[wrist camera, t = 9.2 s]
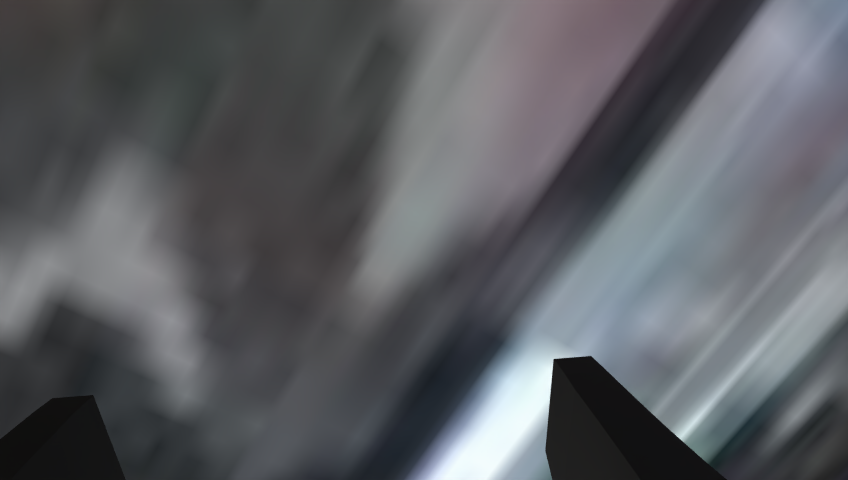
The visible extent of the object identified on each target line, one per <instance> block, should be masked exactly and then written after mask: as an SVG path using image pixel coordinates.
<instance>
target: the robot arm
mask: <svg viewBox="0 0 848 480" xmlns="http://www.w3.org/2000/svg"><path fill="white" fill-rule="evenodd" d="M545 451H546V455H547V459H548V463H549V468H550V472H551V476H552V480H727V479H725V478H724V477H723V476H722V475H720V474H719V473H718V472H717V471H716V470H715V469H713V468H712V467H711V466H710V465H709V464H707V463H706V462H705V461H704V460H703V459H702V458H701V457H699V456H698V455H697V454H696V453H695V452H694V451H693V450H692V449H690V448H689V447H688V446H687V445H686V444H685V443H684V442H683V441H681V440H680V439H679V438H678V437H677V436H676V435H675V434H674V433H672V432H671V431H670V430H669V429H668V428H667V427H666V426H665V425H664V424H662V423H661V422H660V421H659V420H658V419H657V418H656V417H655V416H654V415H653V414H652V413H651V412H650V411H648V410H647V409H646V408H645V407H644V406H643V405H642V404H641V403H640V402H639V401H638V400H637V399H636V398H635V397H634V396H633V395H632V394H630V393H629V392H628V391H627V390H626V389H625V388H624V387H623V386H622V385H621V384H620V383H619V382H618V381H617V380H616V379H615V378H614V377H613V376H612V375H611V374H610V373H608V372H607V371H606V370H605V369H604V368H603V367H602V366H601V365H600V364H599V363H598V362H597V361H596V360H595V359H594V358H592V357H591V356H586V357H574V358H561V359H554V362H553V373H552V384H551V395H550V406H549V417H548V428H547V439H546V450H545ZM0 480H125V477H124V474H123V472H122V469H121V467H120V464H119V461H118V459H117V456H116V454H115V451H114V448H113V446H112V443H111V441H110V438H109V435H108V433H107V430H106V428H105V425H104V422H103V420H102V417H101V415H100V412H99V409H98V407H97V404H96V402H95V399H94V396H93V395H90V396H77V397H64V398H52V399H51V400H50V401H48V402H47V403H46V404H44V405H43V406H42V407H40V408H39V409H37V410H36V411H35V412H34V413H32V414H31V415H30V416H29V417H27V418H26V419H25V420H24V421H22V422H21V423H20V424H19V425H17V426H16V427H15V428H14V429H12V430H11V431H10V432H9V433H7V434H6V435H5V436H4V437H3V438H1V439H0Z"/></svg>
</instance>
